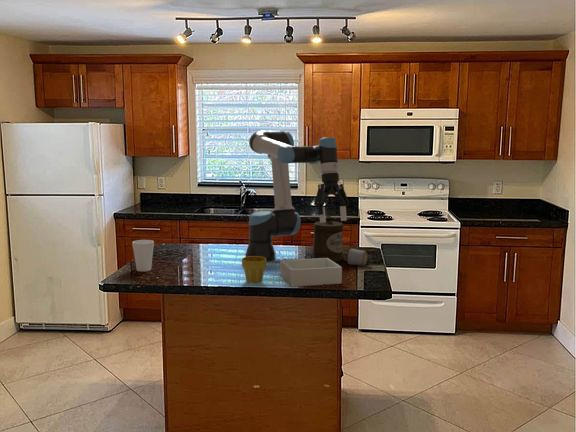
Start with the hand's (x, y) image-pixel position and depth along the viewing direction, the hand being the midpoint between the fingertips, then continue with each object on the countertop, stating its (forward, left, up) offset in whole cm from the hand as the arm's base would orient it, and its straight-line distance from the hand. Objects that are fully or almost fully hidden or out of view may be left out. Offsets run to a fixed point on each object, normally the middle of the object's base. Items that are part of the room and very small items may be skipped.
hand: (333, 221), depth 236 cm
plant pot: (0, -35, -25) cm, 43 cm away
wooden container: (-34, +10, -25) cm, 43 cm away
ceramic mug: (-19, +20, -25) cm, 37 cm away
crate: (+3, -11, -24) cm, 27 cm away
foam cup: (-30, -80, -25) cm, 89 cm away
